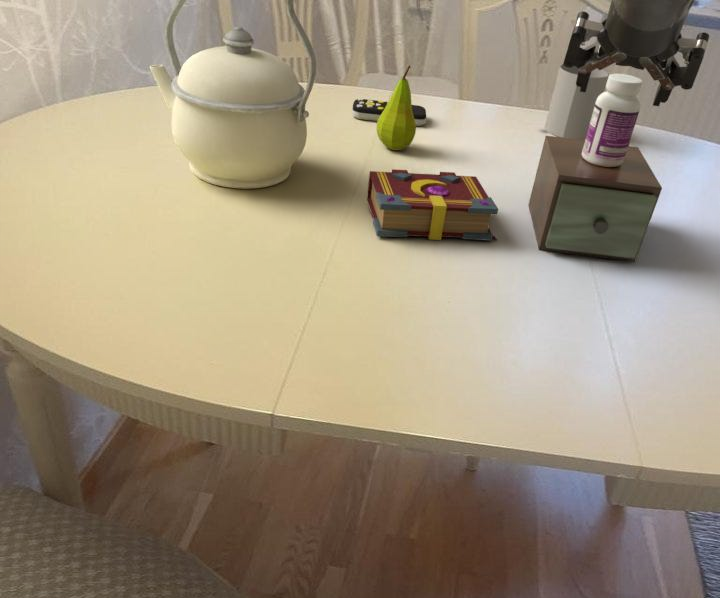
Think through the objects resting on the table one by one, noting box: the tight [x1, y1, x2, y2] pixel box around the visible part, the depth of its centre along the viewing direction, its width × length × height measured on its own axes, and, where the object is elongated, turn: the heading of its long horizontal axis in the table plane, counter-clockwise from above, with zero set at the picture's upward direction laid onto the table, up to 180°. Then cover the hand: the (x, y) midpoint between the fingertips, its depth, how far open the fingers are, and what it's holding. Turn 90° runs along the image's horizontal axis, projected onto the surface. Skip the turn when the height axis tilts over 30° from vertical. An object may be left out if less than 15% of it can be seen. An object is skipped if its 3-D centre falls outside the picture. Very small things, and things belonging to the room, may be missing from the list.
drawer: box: [545, 182, 657, 259], centre depth 98 cm, size 15×11×8 cm
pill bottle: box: [582, 73, 643, 167], centre depth 93 cm, size 5×5×10 cm
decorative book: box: [366, 169, 499, 241], centre depth 99 cm, size 11×16×5 cm
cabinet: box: [528, 135, 663, 263], centre depth 99 cm, size 15×13×10 cm
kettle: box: [149, 0, 318, 190], centre depth 99 cm, size 25×18×25 cm
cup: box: [544, 63, 610, 140], centre depth 132 cm, size 8×8×10 cm
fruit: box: [376, 65, 417, 151], centre depth 116 cm, size 6×6×12 cm
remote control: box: [351, 97, 427, 127], centre depth 131 cm, size 6×13×2 cm, turn 88°
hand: (620, 91), depth 89 cm, fingers open, 8 cm apart
